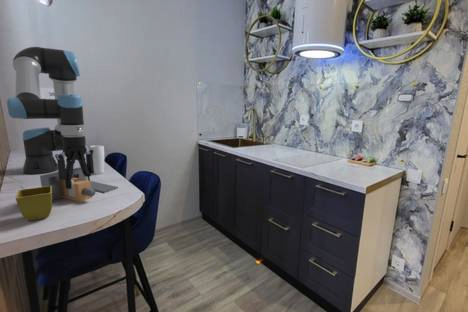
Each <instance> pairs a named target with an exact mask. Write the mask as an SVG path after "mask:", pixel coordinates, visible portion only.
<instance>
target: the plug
mask: <svg viewBox="0 0 468 312" xmlns="http://www.w3.org/2000/svg"><path fill="white" fill-rule="evenodd" d="M71 180H74V188H75V197H72V196H69V192H68V189H67V188H66V183H65V181H64V180H60V186H61V194H62V198H65V199H69V200H71V201H76V202H79V203H81V202H83V201H86V200H89V199H91V198H92V197H94V196H95V195H96V191H95V190H93V189H91V182H90V181H91V180H90V181H88V180H83V179H79V178H75V177H72V179H71Z"/></svg>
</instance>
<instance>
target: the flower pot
mask: <svg viewBox="0 0 468 312" xmlns="http://www.w3.org/2000/svg"><path fill="white" fill-rule="evenodd" d="M15 202H16V203H17V204H16V205H17V206H18V209H19V212H20V214H21V215H22V217H23V218H24V219H26V220H27V221H28V222H30V221H31V222H32V221H36V220H41V219H46V218H48V217H50V215H51V213H52V206H53V202H52V186H45V187H41V186H40V187H32V188H26V189H19V190H17V194H16V195H15Z"/></svg>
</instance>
